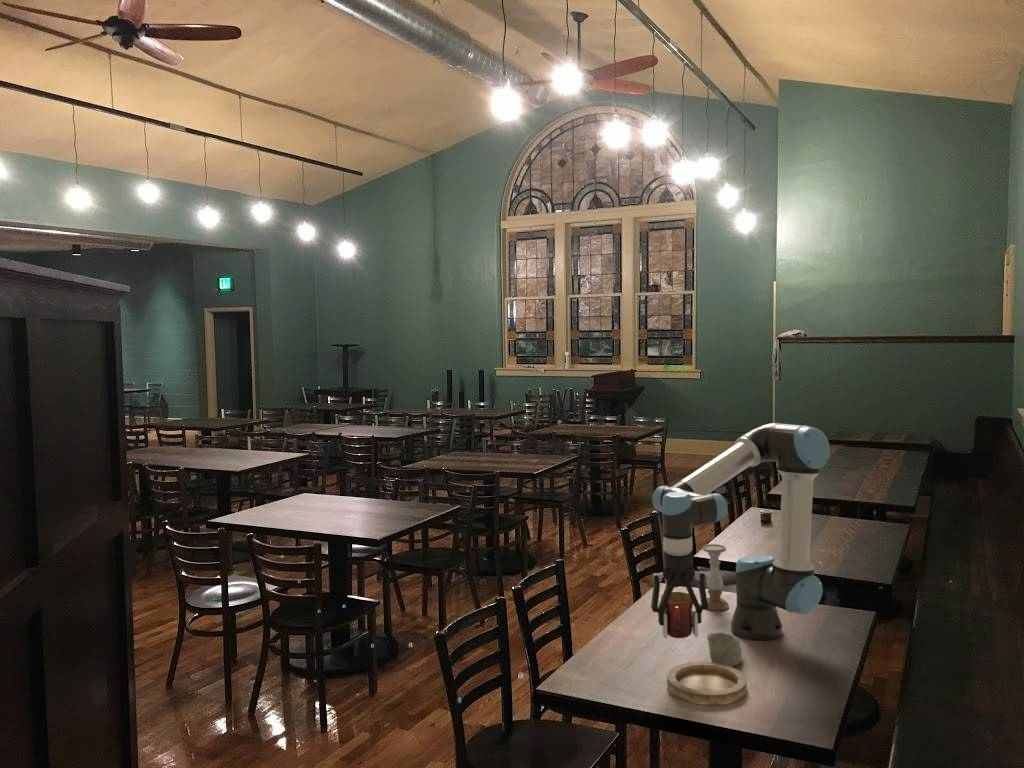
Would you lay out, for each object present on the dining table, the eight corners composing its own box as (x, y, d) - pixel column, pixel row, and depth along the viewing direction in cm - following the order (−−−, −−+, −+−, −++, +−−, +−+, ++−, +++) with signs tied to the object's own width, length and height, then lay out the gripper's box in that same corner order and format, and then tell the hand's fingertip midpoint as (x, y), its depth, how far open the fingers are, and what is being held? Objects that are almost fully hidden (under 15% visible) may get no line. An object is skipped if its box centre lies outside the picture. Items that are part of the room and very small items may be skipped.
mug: (663, 627, 230) (662, 590, 229) (695, 629, 228) (694, 592, 227) (660, 644, 218) (659, 606, 217) (694, 646, 216) (693, 607, 215)
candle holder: (702, 610, 276) (701, 550, 275) (701, 601, 285) (700, 543, 283) (730, 611, 275) (729, 550, 273) (727, 602, 283) (726, 543, 282)
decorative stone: (731, 675, 227) (748, 642, 229) (695, 654, 232) (711, 622, 234) (735, 680, 238) (751, 648, 240) (700, 660, 243) (716, 629, 245)
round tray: (732, 669, 230) (731, 659, 230) (757, 702, 211) (757, 692, 210) (660, 673, 229) (659, 664, 229) (678, 707, 210) (678, 696, 209)
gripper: (712, 545, 225) (714, 628, 227) (637, 549, 224) (639, 632, 226) (720, 553, 217) (722, 639, 219) (642, 557, 217) (644, 643, 219)
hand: (680, 635), depth 223 cm, fingers closed on mug, 7 cm apart
